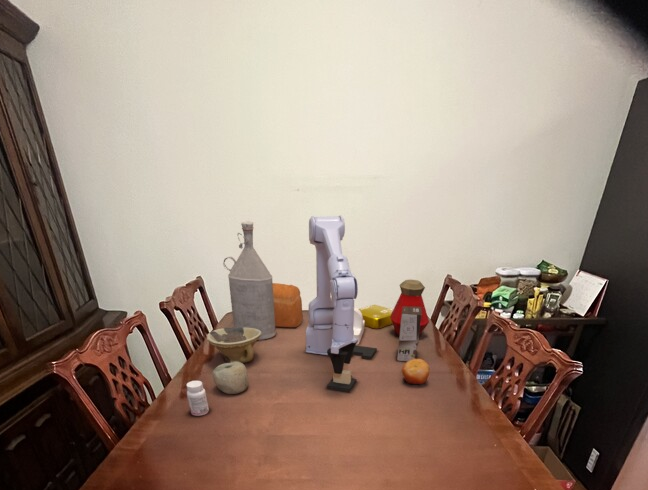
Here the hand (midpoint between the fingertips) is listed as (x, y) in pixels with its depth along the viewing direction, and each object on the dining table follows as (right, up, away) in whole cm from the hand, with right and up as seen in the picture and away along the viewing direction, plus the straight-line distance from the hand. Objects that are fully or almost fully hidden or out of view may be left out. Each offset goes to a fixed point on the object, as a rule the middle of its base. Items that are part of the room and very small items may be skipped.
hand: (342, 368), depth 122 cm
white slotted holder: (+4, +19, +40) cm, 44 cm away
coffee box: (+23, +7, +22) cm, 33 cm away
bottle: (+27, +19, +41) cm, 52 cm away
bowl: (-35, +6, +20) cm, 41 cm away
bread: (-29, +27, +53) cm, 66 cm away
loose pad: (0, -5, +3) cm, 6 cm away
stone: (-33, -6, +2) cm, 33 cm away
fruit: (+22, -4, +5) cm, 23 cm away
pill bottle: (-39, -13, -10) cm, 42 cm away
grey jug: (-33, +19, +40) cm, 55 cm away
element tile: (+16, +28, +54) cm, 63 cm away
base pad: (+7, +9, +24) cm, 27 cm away
